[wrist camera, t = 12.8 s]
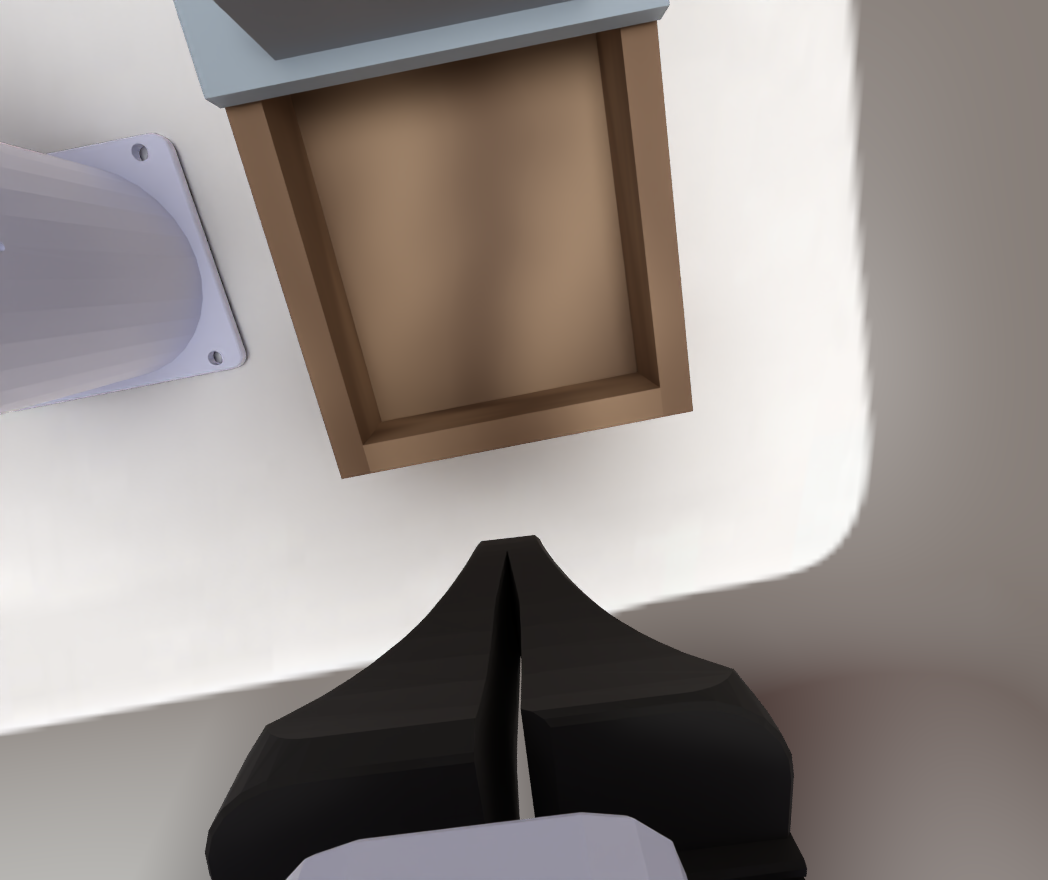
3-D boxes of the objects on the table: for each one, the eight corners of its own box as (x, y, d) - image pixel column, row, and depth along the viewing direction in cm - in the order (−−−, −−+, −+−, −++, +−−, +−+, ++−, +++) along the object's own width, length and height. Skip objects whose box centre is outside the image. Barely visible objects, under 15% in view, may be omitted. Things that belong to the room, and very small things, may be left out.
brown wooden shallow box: (369, 442, 22) (341, 478, 18) (232, -27, 17) (154, -116, 13) (658, 387, 21) (693, 410, 18) (603, -103, 17) (634, -215, 13)
